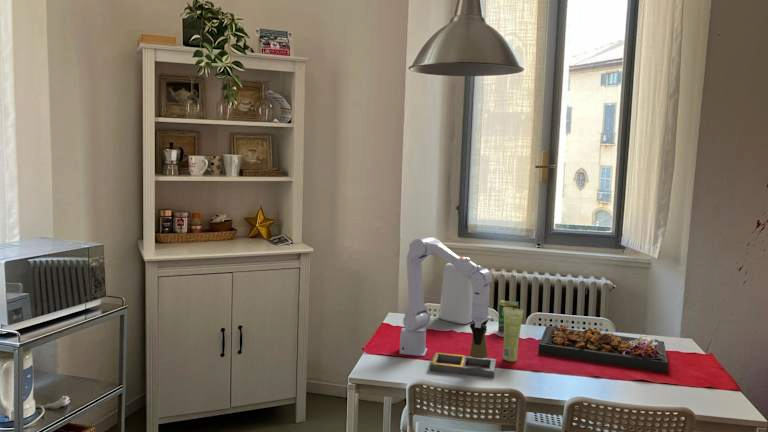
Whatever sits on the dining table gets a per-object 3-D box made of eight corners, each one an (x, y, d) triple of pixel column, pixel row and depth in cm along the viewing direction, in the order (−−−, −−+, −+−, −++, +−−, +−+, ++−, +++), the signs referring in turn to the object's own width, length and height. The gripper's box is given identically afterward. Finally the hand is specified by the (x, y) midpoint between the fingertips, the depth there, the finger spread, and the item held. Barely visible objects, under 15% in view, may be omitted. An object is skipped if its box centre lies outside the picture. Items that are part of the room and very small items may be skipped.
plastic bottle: (452, 311, 289) (454, 252, 285) (481, 318, 280) (484, 257, 276) (435, 319, 277) (438, 257, 273) (465, 326, 268) (468, 262, 264)
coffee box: (497, 331, 262) (498, 301, 260) (498, 329, 265) (500, 299, 263) (516, 334, 259) (518, 303, 258) (517, 332, 262) (519, 301, 260)
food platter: (663, 352, 245) (665, 327, 243) (667, 374, 222) (669, 346, 220) (545, 335, 260) (547, 312, 259) (538, 355, 237) (539, 328, 236)
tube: (513, 356, 233) (516, 305, 231) (520, 361, 229) (524, 309, 226) (500, 357, 231) (503, 306, 229) (507, 362, 227) (510, 310, 224)
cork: (487, 358, 214) (487, 326, 213) (469, 357, 215) (469, 326, 214) (487, 353, 220) (488, 322, 219) (470, 352, 221) (470, 322, 220)
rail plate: (429, 371, 216) (430, 363, 216) (434, 359, 228) (434, 352, 228) (493, 378, 212) (494, 370, 211) (495, 365, 223) (496, 358, 223)
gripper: (490, 310, 208) (488, 349, 209) (492, 299, 222) (490, 336, 224) (469, 308, 209) (467, 347, 211) (473, 297, 223) (471, 334, 225)
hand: (478, 341), depth 217 cm, fingers closed on cork, 5 cm apart
